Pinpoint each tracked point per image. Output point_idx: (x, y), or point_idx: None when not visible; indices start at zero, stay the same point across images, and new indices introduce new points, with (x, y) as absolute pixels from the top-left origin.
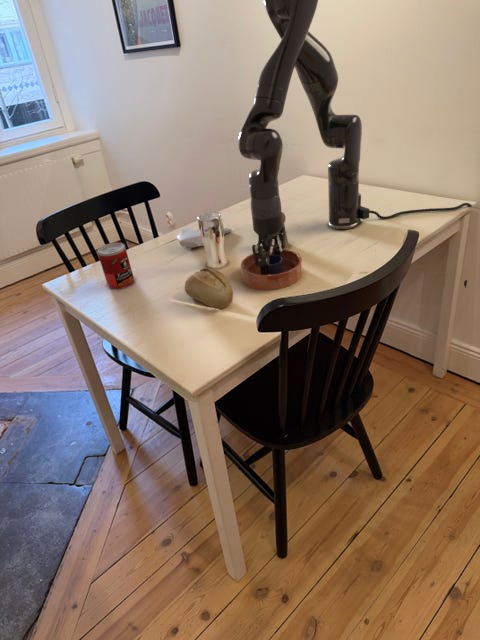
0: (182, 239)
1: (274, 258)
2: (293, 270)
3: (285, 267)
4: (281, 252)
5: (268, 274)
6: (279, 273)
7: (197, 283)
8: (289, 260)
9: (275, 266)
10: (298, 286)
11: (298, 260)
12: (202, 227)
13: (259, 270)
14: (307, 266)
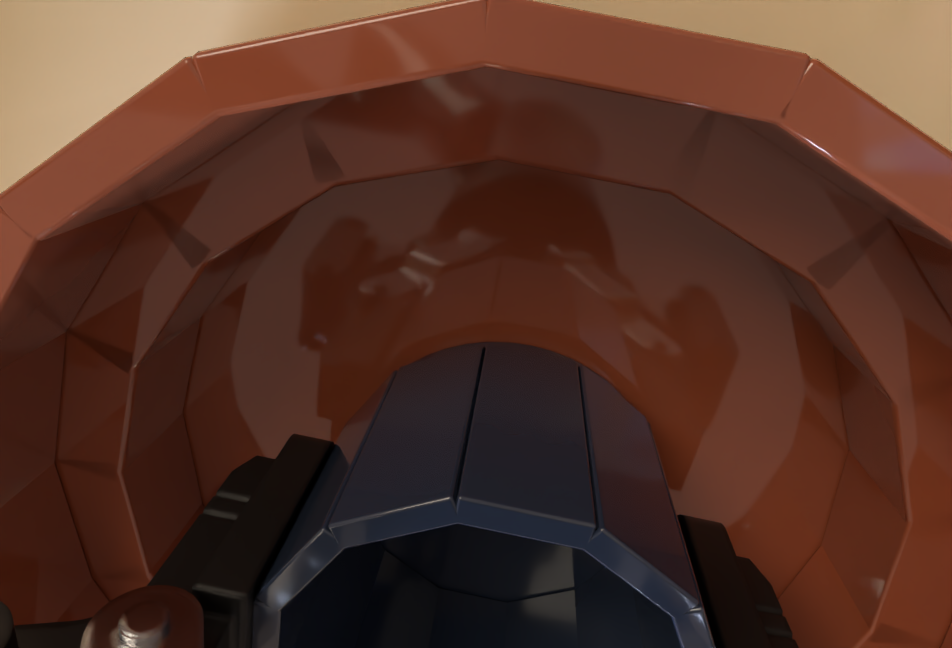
0: None
1: (302, 617)
2: (902, 119)
3: (245, 363)
4: (163, 599)
5: (732, 562)
6: (601, 408)
7: None
8: (145, 354)
9: (681, 559)
10: (789, 9)
11: (176, 169)
12: None
13: None
14: (72, 41)
